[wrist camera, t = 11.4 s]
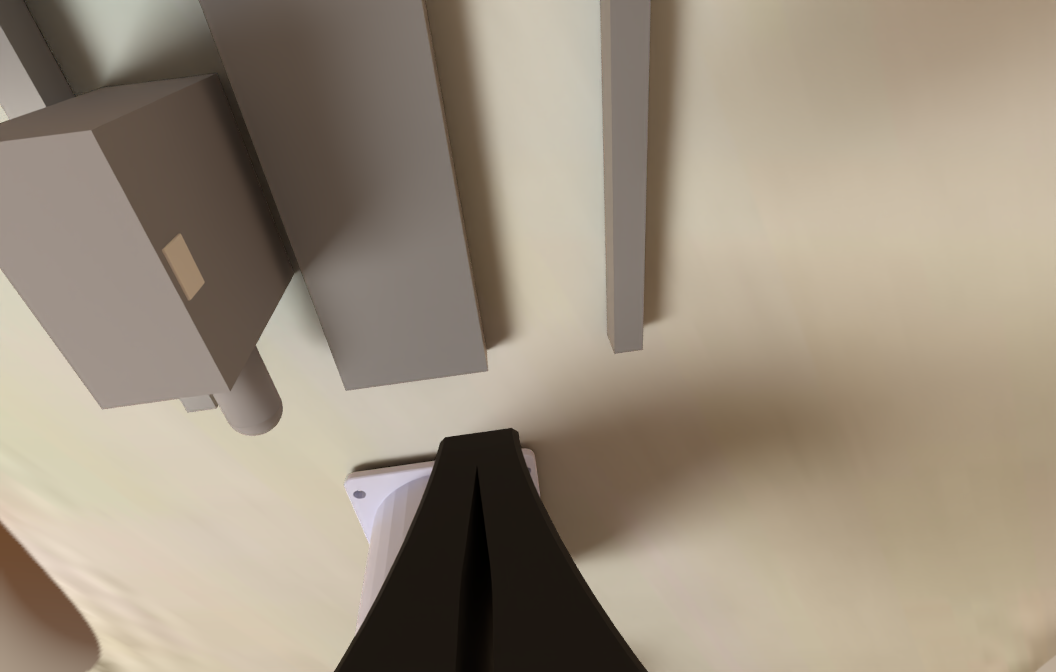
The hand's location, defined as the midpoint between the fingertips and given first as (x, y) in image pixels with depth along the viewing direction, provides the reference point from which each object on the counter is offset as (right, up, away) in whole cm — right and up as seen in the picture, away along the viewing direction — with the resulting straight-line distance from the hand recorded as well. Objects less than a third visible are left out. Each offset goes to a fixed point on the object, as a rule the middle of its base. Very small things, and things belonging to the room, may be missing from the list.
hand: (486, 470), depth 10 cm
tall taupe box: (-8, +5, +7) cm, 12 cm away
